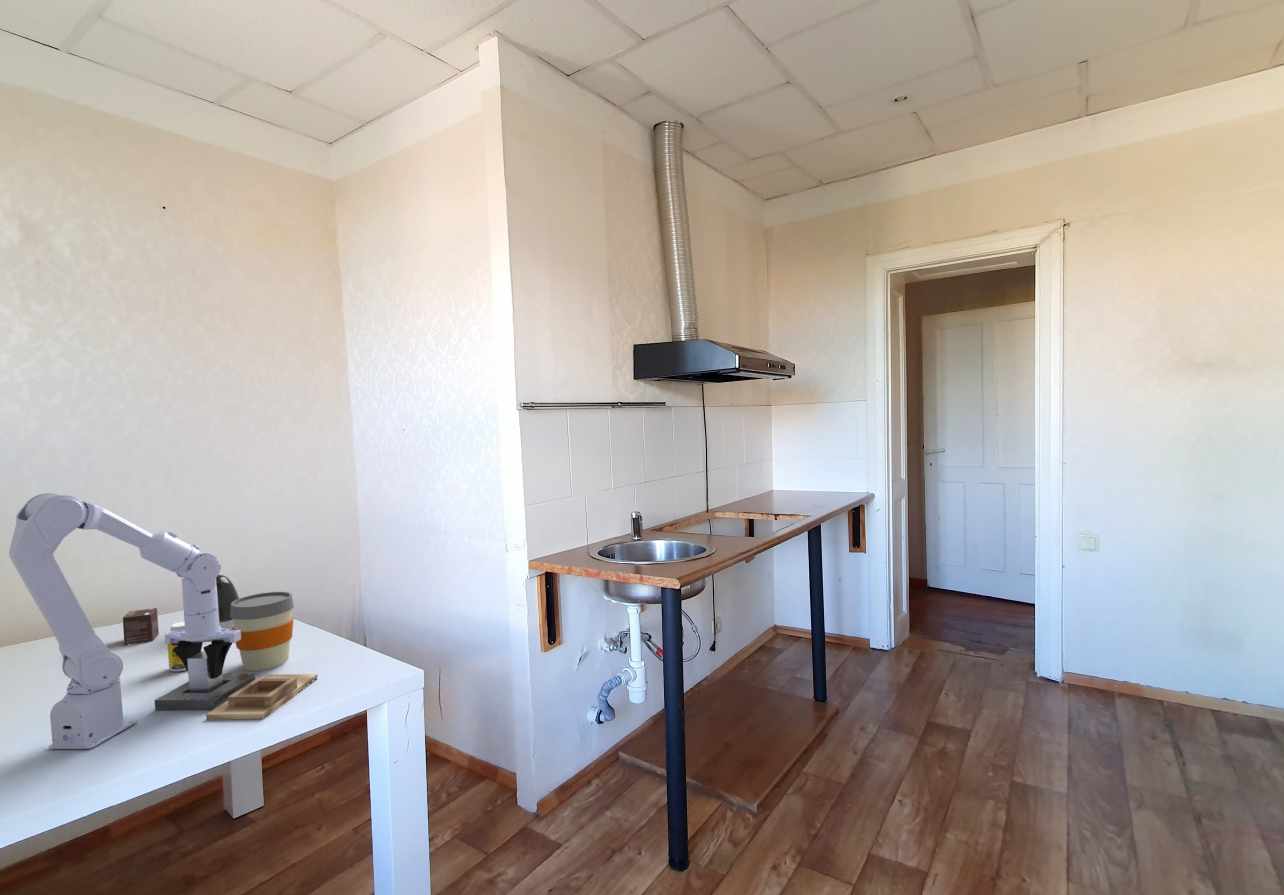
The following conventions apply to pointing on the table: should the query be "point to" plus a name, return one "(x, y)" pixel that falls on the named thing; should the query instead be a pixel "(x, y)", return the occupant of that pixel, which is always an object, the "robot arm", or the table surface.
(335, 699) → the table surface
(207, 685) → the brushed metal block
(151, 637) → the box
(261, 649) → the reusable coffee cup
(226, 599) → the dark grey tall dome
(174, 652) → the robot arm
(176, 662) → the supplement bottle
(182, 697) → the socket
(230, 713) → the rack board
